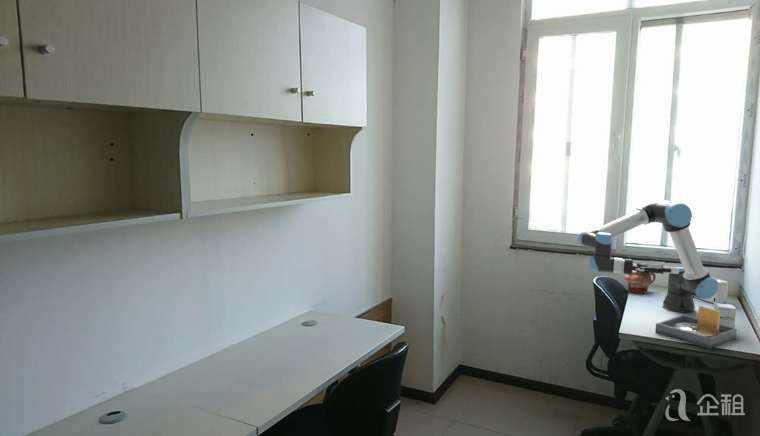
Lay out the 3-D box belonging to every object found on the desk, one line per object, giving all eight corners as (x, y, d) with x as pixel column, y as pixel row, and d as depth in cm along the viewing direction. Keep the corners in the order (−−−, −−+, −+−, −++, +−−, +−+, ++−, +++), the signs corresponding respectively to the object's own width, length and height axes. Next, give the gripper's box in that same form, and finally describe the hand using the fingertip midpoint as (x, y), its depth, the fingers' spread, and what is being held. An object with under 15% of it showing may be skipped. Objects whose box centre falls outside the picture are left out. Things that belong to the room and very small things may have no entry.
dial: (666, 329, 242) (668, 303, 240) (687, 323, 250) (689, 298, 248) (706, 341, 226) (709, 314, 225) (726, 335, 235) (729, 308, 233)
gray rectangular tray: (681, 323, 255) (682, 314, 255) (735, 338, 235) (736, 329, 235) (655, 332, 242) (656, 323, 242) (709, 348, 222) (710, 338, 222)
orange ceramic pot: (645, 288, 322) (647, 266, 320) (660, 293, 310) (662, 270, 308) (618, 289, 317) (620, 267, 315) (632, 295, 305) (634, 272, 304)
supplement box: (715, 332, 243) (718, 306, 241) (712, 327, 250) (714, 302, 248) (734, 334, 240) (736, 308, 239) (729, 329, 247) (732, 304, 246)
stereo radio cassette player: (727, 304, 289) (730, 269, 286) (715, 305, 287) (718, 270, 284) (696, 294, 309) (699, 261, 306) (685, 295, 307) (688, 262, 304)
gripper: (623, 270, 257) (677, 275, 247) (623, 276, 246) (679, 281, 236) (624, 256, 256) (678, 260, 246) (623, 261, 245) (680, 265, 235)
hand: (678, 270), depth 241 cm, fingers closed
